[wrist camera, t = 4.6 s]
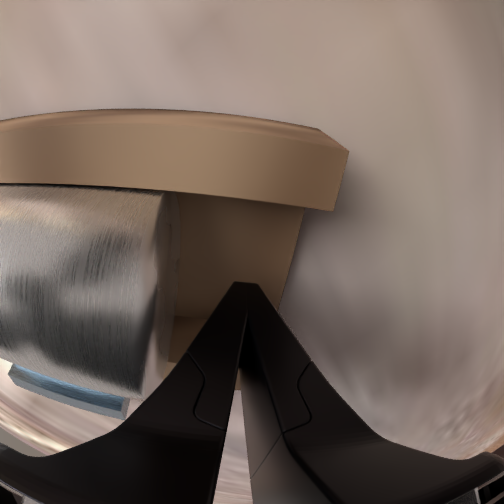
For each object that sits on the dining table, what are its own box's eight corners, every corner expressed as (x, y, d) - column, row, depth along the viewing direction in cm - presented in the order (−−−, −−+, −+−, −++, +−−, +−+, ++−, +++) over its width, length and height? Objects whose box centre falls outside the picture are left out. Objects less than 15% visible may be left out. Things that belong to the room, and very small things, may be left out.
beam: (318, 128, 8) (349, 150, 6) (266, 337, 13) (270, 391, 11) (-86, 144, 6) (-118, 164, 4) (-54, 274, 11) (-75, 301, 9)
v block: (118, 309, 12) (97, 360, 10) (135, 378, 16) (125, 420, 13) (-1, 283, 12) (-28, 319, 9) (31, 351, 15) (15, 384, 12)
